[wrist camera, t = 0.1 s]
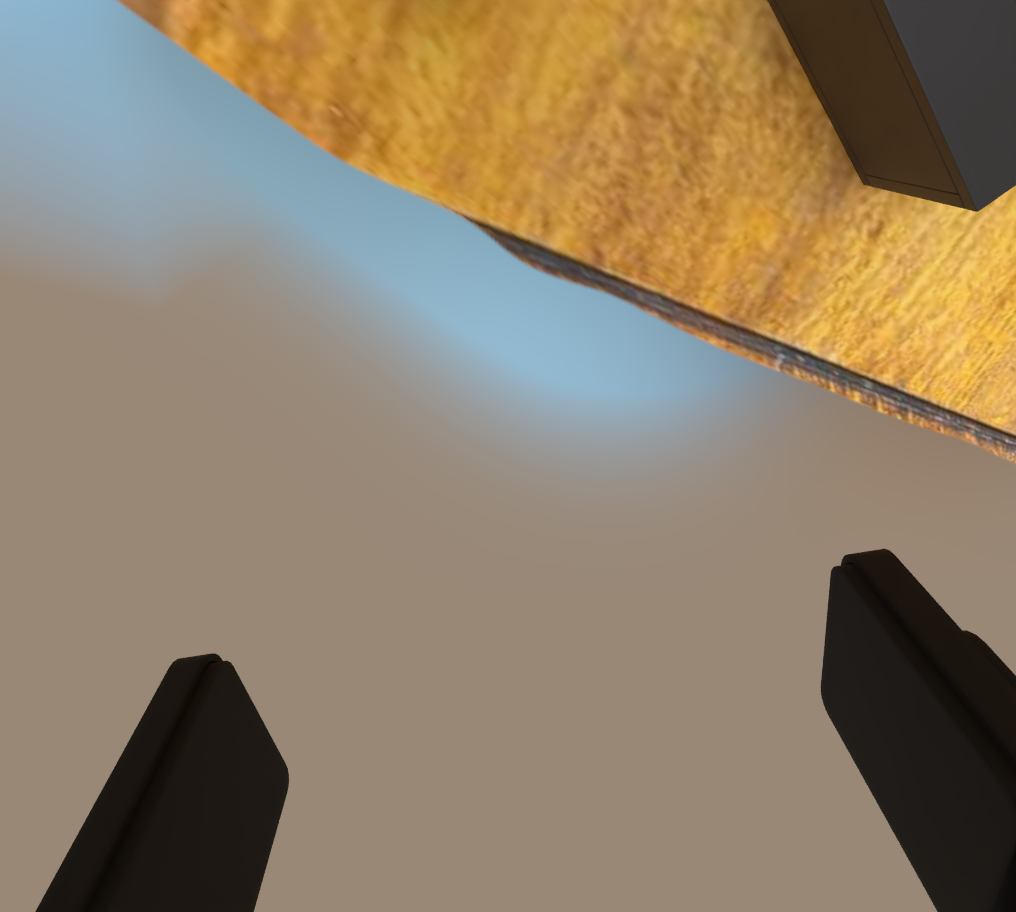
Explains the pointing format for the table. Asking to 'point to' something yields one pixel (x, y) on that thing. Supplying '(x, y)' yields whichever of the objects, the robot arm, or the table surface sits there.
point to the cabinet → (916, 90)
